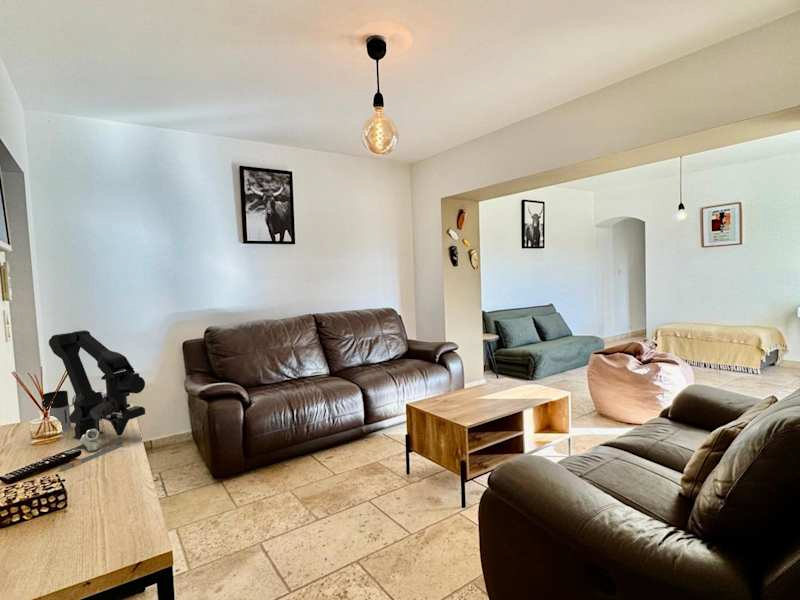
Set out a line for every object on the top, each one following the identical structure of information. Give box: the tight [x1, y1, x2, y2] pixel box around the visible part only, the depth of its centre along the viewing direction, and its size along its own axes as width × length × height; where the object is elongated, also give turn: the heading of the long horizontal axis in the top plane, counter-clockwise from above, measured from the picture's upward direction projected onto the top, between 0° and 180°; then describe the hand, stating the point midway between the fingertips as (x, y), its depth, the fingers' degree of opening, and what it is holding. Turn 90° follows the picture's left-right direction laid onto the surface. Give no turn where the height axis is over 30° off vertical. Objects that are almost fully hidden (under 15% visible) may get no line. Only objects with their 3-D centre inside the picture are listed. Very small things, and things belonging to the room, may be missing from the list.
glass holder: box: [41, 390, 76, 434], centre depth 155 cm, size 9×14×15 cm, turn 108°
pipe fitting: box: [79, 429, 101, 452], centre depth 136 cm, size 8×4×7 cm, turn 53°
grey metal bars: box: [31, 442, 124, 472], centre depth 131 cm, size 19×14×2 cm
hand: (119, 435), depth 145 cm, fingers closed
